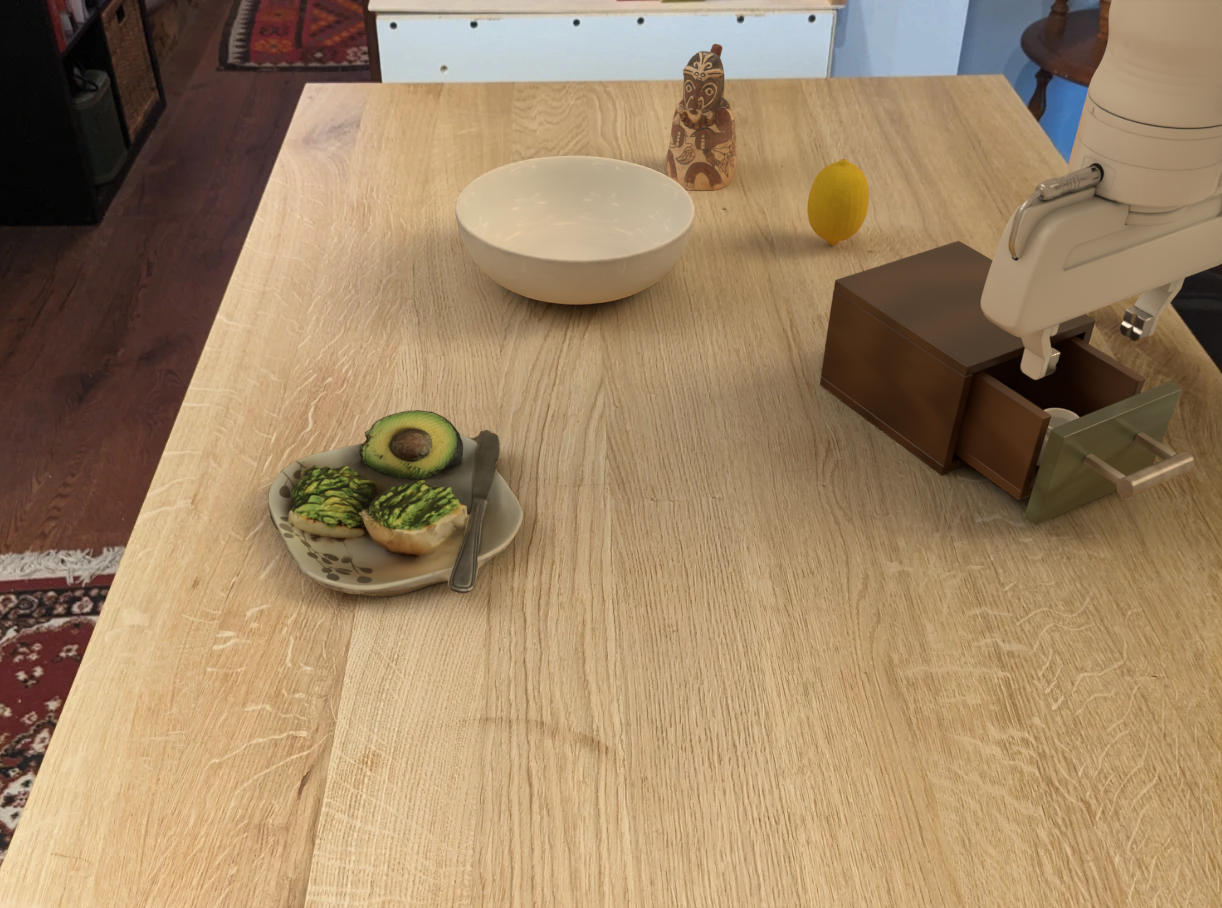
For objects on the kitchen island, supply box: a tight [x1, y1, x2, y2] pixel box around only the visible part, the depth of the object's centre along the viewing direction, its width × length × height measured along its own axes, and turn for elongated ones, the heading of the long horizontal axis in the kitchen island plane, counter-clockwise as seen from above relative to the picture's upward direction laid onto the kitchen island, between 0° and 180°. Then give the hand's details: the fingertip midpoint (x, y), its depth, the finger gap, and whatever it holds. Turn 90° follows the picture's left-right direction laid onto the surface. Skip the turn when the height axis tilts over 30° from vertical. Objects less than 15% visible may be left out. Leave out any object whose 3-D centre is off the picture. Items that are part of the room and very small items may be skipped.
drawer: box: [954, 336, 1195, 526], centre depth 91 cm, size 18×11×7 cm, turn 31°
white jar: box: [1037, 408, 1080, 466], centre depth 92 cm, size 5×3×5 cm
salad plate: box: [267, 409, 524, 598], centre depth 89 cm, size 19×18×5 cm
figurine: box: [665, 43, 738, 191], centre depth 127 cm, size 7×7×12 cm
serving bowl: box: [454, 155, 696, 305], centre depth 113 cm, size 21×21×7 cm
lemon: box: [806, 158, 870, 246], centre depth 118 cm, size 6×6×8 cm
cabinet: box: [819, 240, 1096, 476], centre depth 98 cm, size 15×13×9 cm
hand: (1086, 354), depth 87 cm, fingers open, 8 cm apart
